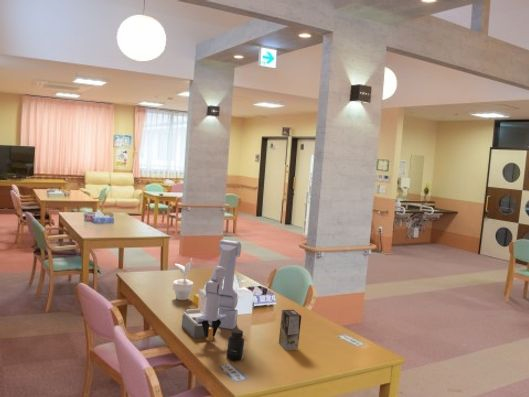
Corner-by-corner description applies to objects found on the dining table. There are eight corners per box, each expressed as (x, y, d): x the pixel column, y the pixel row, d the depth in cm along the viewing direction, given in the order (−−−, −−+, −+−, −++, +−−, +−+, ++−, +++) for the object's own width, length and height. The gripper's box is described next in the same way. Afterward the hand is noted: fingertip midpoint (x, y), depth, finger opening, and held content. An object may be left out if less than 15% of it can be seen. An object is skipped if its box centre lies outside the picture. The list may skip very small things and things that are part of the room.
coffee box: (298, 349, 225) (302, 315, 224) (285, 350, 223) (289, 316, 221) (290, 342, 233) (293, 309, 232) (277, 342, 231) (281, 309, 230)
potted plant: (196, 299, 284) (200, 256, 282) (182, 303, 274) (186, 259, 272) (179, 294, 291) (183, 252, 289) (166, 297, 281) (169, 255, 279)
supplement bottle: (230, 362, 204) (232, 334, 203) (223, 355, 210) (226, 328, 209) (245, 360, 207) (247, 333, 206) (238, 354, 213) (241, 327, 212)
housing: (181, 326, 240) (182, 312, 239) (200, 324, 245) (201, 310, 244) (193, 338, 226) (195, 323, 225) (213, 336, 231) (215, 321, 230)
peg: (213, 338, 225) (214, 327, 224) (211, 340, 222) (212, 330, 221) (207, 337, 225) (208, 326, 225) (205, 339, 222) (206, 329, 222)
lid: (185, 314, 240) (186, 309, 239) (199, 313, 243) (199, 308, 243) (191, 319, 234) (191, 314, 233) (204, 317, 237) (205, 313, 237)
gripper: (200, 311, 215) (197, 341, 216) (230, 308, 222) (227, 337, 223) (194, 306, 221) (192, 335, 222) (223, 303, 228) (221, 332, 230)
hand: (209, 336), depth 223 cm, fingers closed on peg, 3 cm apart
